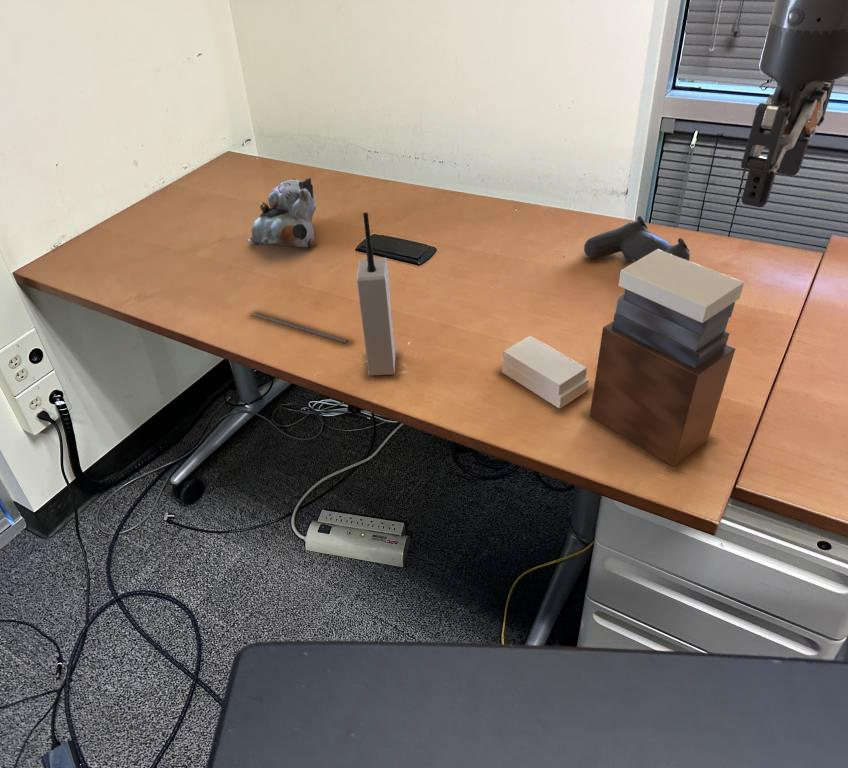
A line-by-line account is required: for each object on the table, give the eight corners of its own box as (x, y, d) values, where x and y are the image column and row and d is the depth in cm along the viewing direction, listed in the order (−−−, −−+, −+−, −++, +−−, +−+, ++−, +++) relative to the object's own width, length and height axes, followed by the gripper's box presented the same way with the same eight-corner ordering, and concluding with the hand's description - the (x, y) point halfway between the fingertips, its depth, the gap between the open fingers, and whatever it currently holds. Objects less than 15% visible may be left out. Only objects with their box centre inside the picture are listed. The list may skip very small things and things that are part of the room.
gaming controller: (656, 309, 107) (707, 265, 106) (646, 288, 103) (698, 242, 102) (587, 264, 120) (632, 223, 118) (576, 244, 116) (622, 201, 114)
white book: (739, 298, 70) (744, 282, 69) (702, 323, 68) (706, 306, 67) (654, 264, 77) (657, 248, 76) (617, 285, 75) (620, 270, 74)
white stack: (587, 390, 92) (590, 368, 89) (559, 409, 90) (562, 387, 87) (528, 356, 99) (530, 334, 96) (501, 372, 97) (502, 351, 94)
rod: (256, 315, 117) (255, 311, 117) (348, 343, 107) (347, 339, 107) (253, 317, 117) (253, 313, 116) (345, 345, 107) (345, 341, 107)
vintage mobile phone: (395, 354, 103) (381, 200, 87) (394, 375, 99) (379, 218, 83) (370, 355, 104) (352, 202, 88) (368, 376, 100) (349, 220, 84)
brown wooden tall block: (707, 440, 82) (750, 301, 70) (672, 467, 80) (710, 328, 67) (623, 392, 91) (647, 260, 78) (589, 415, 88) (609, 283, 75)
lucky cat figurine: (241, 240, 138) (248, 169, 134) (297, 247, 143) (306, 178, 139) (261, 250, 125) (270, 170, 121) (322, 256, 129) (333, 181, 126)
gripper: (841, 41, 55) (783, 225, 65) (895, -3, 62) (835, 170, 72) (741, 34, 59) (702, 207, 69) (802, -7, 66) (758, 157, 76)
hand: (770, 188), depth 71 cm, fingers open, 8 cm apart
